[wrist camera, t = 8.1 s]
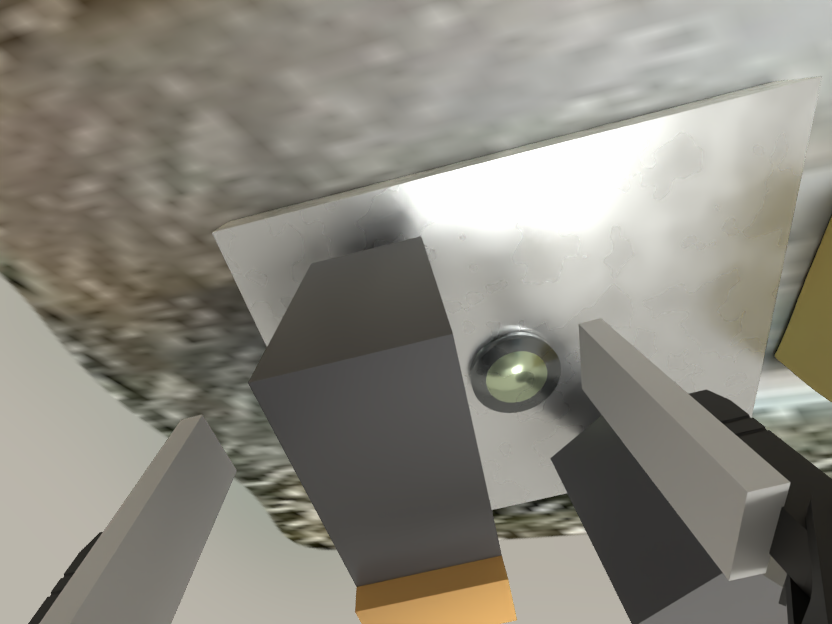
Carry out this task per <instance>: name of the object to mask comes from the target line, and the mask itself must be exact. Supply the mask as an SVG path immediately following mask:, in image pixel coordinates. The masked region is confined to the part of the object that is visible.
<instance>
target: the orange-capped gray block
mask: <svg viewBox="0 0 832 624" xmlns="http://www.w3.org/2000/svg"><path fill="white" fill-rule="evenodd" d="M550 459H551V461H552V463H553V465H554V467H555V469H556V471H557V473H558V475H559V477H560V479H561V481H562V483H563V485H564V487H565V489H566V491H567V493H568V495H569V497H570V499H571V501H572V504H573V506H574V508H575V510H576V512H577V514H578V516H579V518H580V520H581V522H582V524H583V526H584V528H585V530H586V532H587V534H588V536H589V538H590V540H591V542H592V544H593V546H594V548H595V550H596V552H597V554H598V556H599V558H600V560H601V562H602V564H603V566H604V568H605V570H606V572H607V574H608V576H609V578H610V580H611V582H612V585H613V587H614V588H615V591H616V592H617V595H618V596H619V599H620V601H621V603H622V605H623V607H624V609H625V611H626V613H627V615H628V617H629V619H630V621H631V623H632V624H788V617H787V604H786V606H783V605H781V604H779V599H780V595H781V591H782V588H783V585H784V582H785V579H786V576H787V573H786V572H785V571H784V570H783V568H782V567H781V566H780V565H779V564H778V563H777V562H776V561H775V560H774V559H773V557H772V556H770V559H769V563H768V566H767V570H766V573H763V574H759V575H754V576H750V577H745V578H740V579H736V580H731V581H729V580H728V579H727V578H726V576H725V575H724V574H723V572H722V571H721V570H720V568H719V567H718V566H717V565H716V563H715V562H714V561H713V559H712V558H711V557H710V555H709V554H708V553H707V551H706V550H705V549H704V548H703V546H702V545H701V544H700V542H699V541H698V540H697V538H696V537H695V536H694V534H693V533H692V532H691V531H690V529H689V528H688V527H687V525H686V524H685V523H684V521H683V520H682V519H681V517H680V516H679V515H678V514H677V512H676V511H675V510H674V508H673V507H672V506H671V504H670V503H669V502H668V501H667V499H666V498H665V497H664V495H663V494H662V493H661V491H660V490H659V489H658V487H657V486H656V485H655V484H654V482H653V481H652V480H651V478H650V477H649V476H648V474H647V473H646V472H645V470H644V469H643V468H642V467H641V465H640V464H639V463H638V461H637V460H636V459H635V457H634V456H633V455H632V453H631V452H630V451H629V450H628V448H627V447H626V446H625V444H624V443H623V442H622V440H621V439H620V438H619V436H618V435H617V434H616V433H615V431H614V430H613V429H612V427H611V426H610V425H609V423H608V422H607V421H606V419H605V418H604V417H603V416H602V415H601V416H600V417H599V418H598V419H597V420H595V421H594V422H593V423H592V424H591V425H589V426H588V427H587V428H586V429H585V430H583V431H582V432H581V433H580V434H579V435H577V436H576V437H575V438H574V439H573V440H571V441H570V442H569V443H568V444H567V445H566V446H564V447H563V448H562V449H561V450H560V451H558V452H557V453H556V454H555V455H554V456H552V457H551V458H550Z"/></svg>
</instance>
